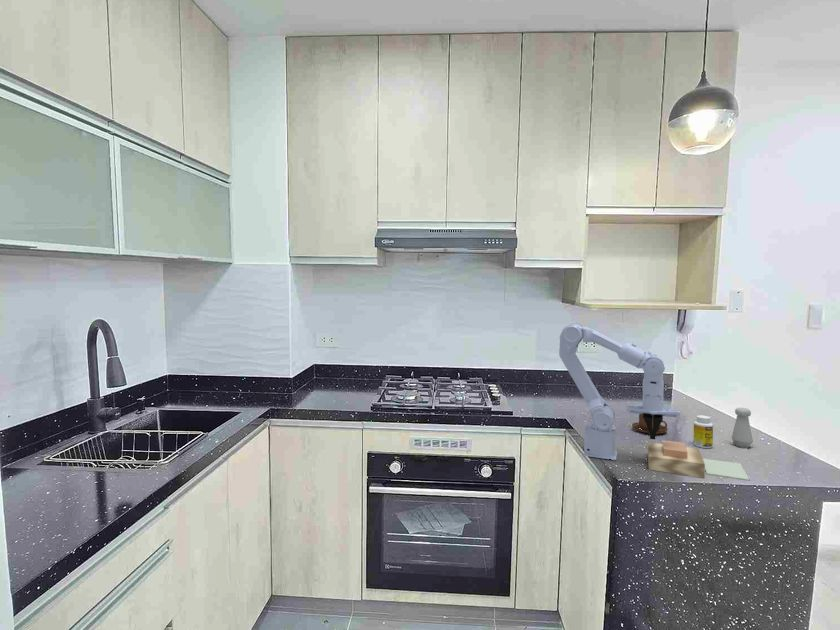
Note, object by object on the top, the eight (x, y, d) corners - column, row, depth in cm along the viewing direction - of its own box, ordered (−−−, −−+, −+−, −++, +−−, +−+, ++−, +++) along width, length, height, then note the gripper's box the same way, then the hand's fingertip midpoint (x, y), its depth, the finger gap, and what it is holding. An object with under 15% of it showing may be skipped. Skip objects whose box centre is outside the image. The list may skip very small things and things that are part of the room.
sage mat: (706, 474, 126) (706, 473, 126) (701, 459, 138) (701, 458, 138) (749, 480, 122) (749, 479, 122) (740, 464, 133) (740, 463, 133)
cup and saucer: (667, 429, 169) (668, 414, 169) (667, 438, 159) (667, 421, 158) (633, 425, 175) (633, 410, 175) (630, 433, 165) (630, 417, 165)
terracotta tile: (663, 455, 130) (663, 449, 130) (662, 446, 138) (662, 440, 138) (687, 458, 127) (687, 452, 127) (684, 449, 135) (684, 442, 135)
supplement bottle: (705, 449, 146) (706, 419, 146) (689, 444, 151) (690, 415, 151) (716, 447, 148) (717, 417, 148) (700, 442, 154) (700, 413, 153)
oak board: (648, 469, 130) (648, 456, 130) (647, 454, 142) (648, 442, 142) (704, 478, 124) (704, 464, 123) (698, 461, 136) (698, 448, 136)
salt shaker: (748, 450, 146) (749, 411, 145) (728, 445, 150) (729, 408, 150) (755, 446, 149) (756, 408, 149) (735, 442, 154) (736, 405, 153)
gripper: (626, 395, 135) (626, 438, 135) (681, 399, 128) (680, 445, 128) (627, 390, 141) (626, 432, 141) (679, 394, 134) (678, 438, 135)
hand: (652, 438), depth 135 cm, fingers closed
